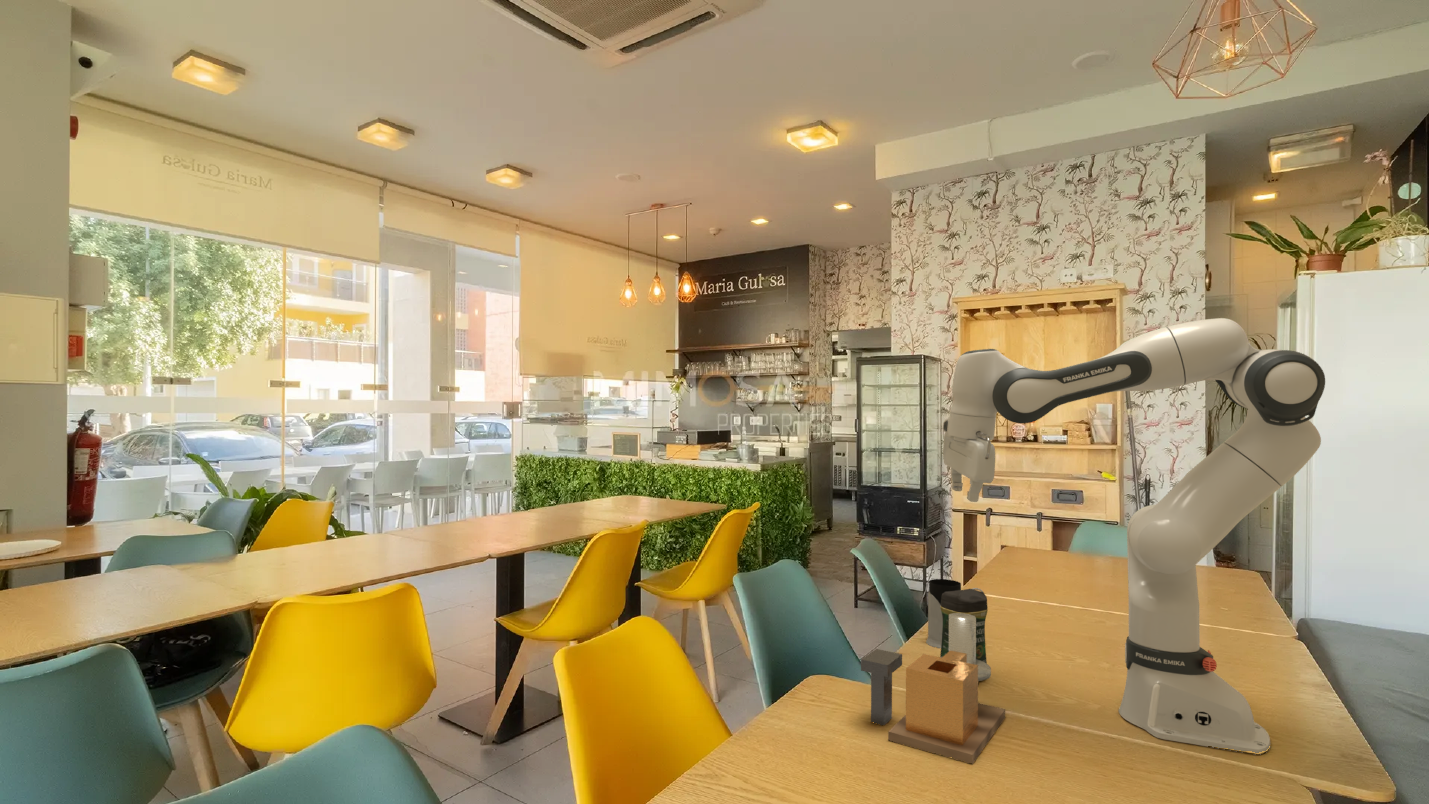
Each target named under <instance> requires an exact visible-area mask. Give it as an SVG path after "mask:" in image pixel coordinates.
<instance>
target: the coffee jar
mask: <svg viewBox="0 0 1429 804" xmlns="http://www.w3.org/2000/svg"><path fill="white" fill-rule="evenodd" d="M983 592H984V591H983ZM983 592H981V591H980V590H974V589H972V588H966V589H961V590H957V591H948V592H944V593H943V594H942V597H941V606H940V607H941V612H942V617H943V628H942V643H941V649H940V654H939V655H940V656H939V657H943V656H944V655H946V654H947V653H948V652H949V614H952V613H965V614H970V615H973V616H975V617H976V659H977V660H980V661H983V662H985V663H987V664H988V662H987V661H988V660H987V651H986V650H987V649H986V628H985V627H986V618H987V615H988V610H989V608H988V597H987V596H986V593H985V592H984V593H983Z"/></svg>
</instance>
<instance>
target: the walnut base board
mask: <svg viewBox="0 0 1429 804" xmlns="http://www.w3.org/2000/svg"><path fill="white" fill-rule="evenodd" d="M1005 718H1006V708H1002V707H997V706H993V705H989V704H985V703H981V702H978V726H977V728H976V729H975V730H974V731H973V733H972V734H971V735H970V737H969V738H968V739H967V741H966V742H965V743H964V745H959V744H956V743H952V742H948V741H945V740H941V739H937V738H934V737H930V736H926V735H923V734H919V733H915V732H912V731H908V730H906V714H905V715H904V716H903V717H902V718H901V719H900V720H899V721H898V722H896V724H894V726H892V727H891V729H889V730H888V731H887V732H888V733H887V734H888V735H887V738H888V739H887V740H888V741H889V740H890V741H889V742H892V741H893V742H892V743H896V744H899V743H900V744H899V745H903V744H904V745H903V746H907V747H910V746H911V748H913V747H914V749H917V748H919V749H918V750H920V749H921V751H924V752H927V751H929V752H928V753H931V752H932V753H931V754H934V753H936V754H935V755H938V754H941V755H944V756H943V757H945V756H946V758H948V757H952V758H954V759H953V760H956V761H959V760H961V761H960V762H962V761H965V762H964V763H966V762H967V763H966V764H969V763H972V764H971V765H973V764H974V763H975V762H976V760H977V759H978V757H979V756H980V755H981V754H982V752H981V751H983V750H984V749H985V747H986V746H987V744H988V743H989V741H990V740H991V739H992V737H993V736H994V735H995V733H996V732H997V730H998V728H999V727H1000V725H1001V724H1002V723H1003V722H1004V720H1005ZM983 748H984V749H983ZM941 755H940V756H941ZM952 758H951V759H952ZM974 761H975V762H974Z"/></svg>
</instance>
